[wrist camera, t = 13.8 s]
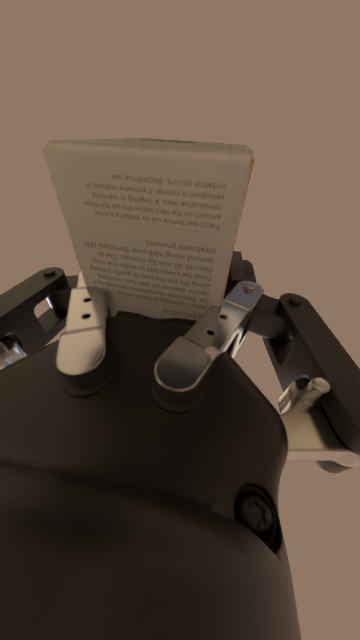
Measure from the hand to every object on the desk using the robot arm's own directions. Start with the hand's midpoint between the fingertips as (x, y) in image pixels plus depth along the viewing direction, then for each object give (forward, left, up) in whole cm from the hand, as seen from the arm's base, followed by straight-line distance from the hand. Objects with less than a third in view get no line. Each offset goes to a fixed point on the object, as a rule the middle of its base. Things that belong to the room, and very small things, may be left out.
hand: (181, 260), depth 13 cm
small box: (0, +3, -6) cm, 7 cm away
